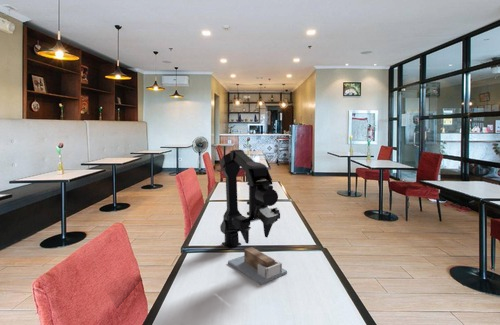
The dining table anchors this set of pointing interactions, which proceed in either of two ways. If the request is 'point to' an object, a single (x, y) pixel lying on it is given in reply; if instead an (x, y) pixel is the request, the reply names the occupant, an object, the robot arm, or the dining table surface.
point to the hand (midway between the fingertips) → (256, 240)
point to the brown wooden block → (257, 258)
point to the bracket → (262, 273)
